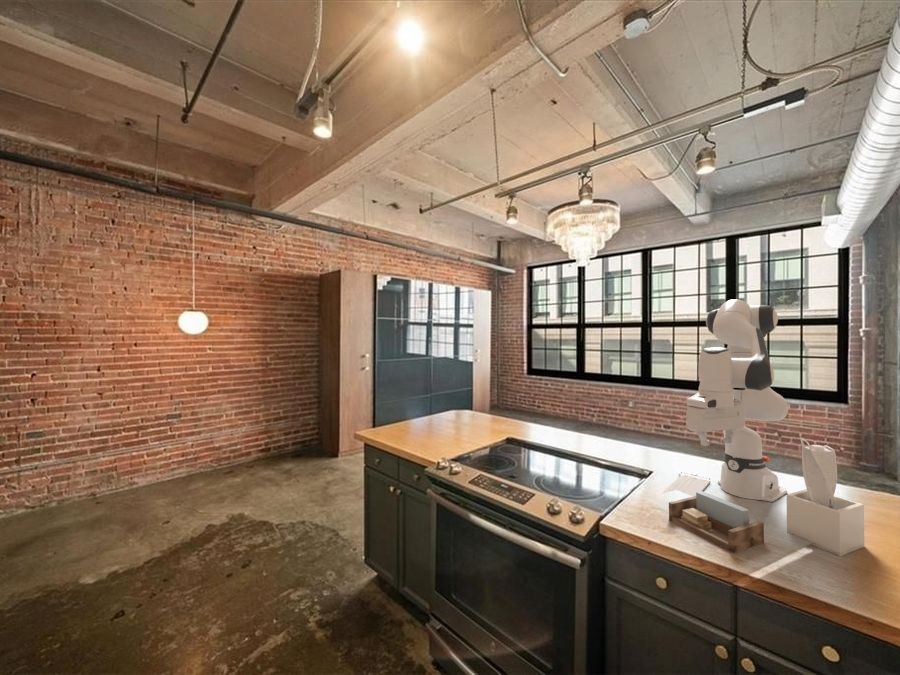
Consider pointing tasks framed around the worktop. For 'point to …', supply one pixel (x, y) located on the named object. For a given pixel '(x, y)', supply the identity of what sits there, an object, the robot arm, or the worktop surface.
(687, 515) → the offcut short
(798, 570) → the worktop surface
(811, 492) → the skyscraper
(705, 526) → the offcut mid
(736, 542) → the rack
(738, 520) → the pale blue-grey board
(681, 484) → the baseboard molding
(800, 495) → the open white box
